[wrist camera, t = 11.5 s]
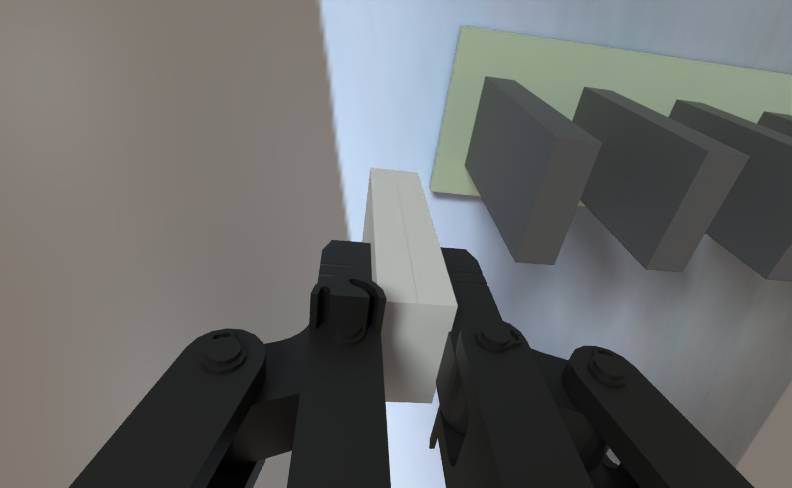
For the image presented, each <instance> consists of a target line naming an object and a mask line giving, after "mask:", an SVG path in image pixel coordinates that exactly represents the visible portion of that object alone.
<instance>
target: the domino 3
mask: <svg viewBox="0 0 792 488" xmlns="http://www.w3.org/2000/svg"><path fill="white" fill-rule="evenodd" d="M669 118H671V119H673V120H675V121H677V122H679V123H681V124H683V125H685V126H688V127H690V128H692V129H694V130H696V131H698V132H700V133H702V134H704V135H706V136H709V137H711V138H713V139H715V140H717V141H719V142H721V143H723V144H725V145H727V146H730V147H732V148H734V149H736V150H738V151H740V152H742V153H744V154H746V155H748V156H750V157H749V159H748V161H747V162H746V164H745V166H744V167H743V169H742V171H741V173H740V174H739V176H738V178H737V179H736V181H735V183H734V184H733V186H732V188H731V190H730V191H729V193H728V195H727V196H726V198H725V200H724V201H723V203H722V205H721V207H720V208H719V210H718V212H717V213H716V215H715V217H714V218H713V220H712V222H711V224H710V225H709V227H708V229H707V230H706V232H705V233H706V234H707V235H709V236H710V237H711V238H712V239H714V240H715V241H716V242H718V243H719V244H720V245H722V246H723V247H724V248H726V249H727V250H728V251H730V252H731V253H732V254H733V255H735V256H736V257H737V258H739V259H740V260H741V261H743V262H744V263H745V264H747V265H748V266H749V267H751V268H752V269H753V270H754V271H756V272H757V273H758V274H760V275H761V276H762V277H764V278H765V279H769V280H781V281H792V137H790V136H787V135H785V134H782V133H780V132H777V131H774V130H772V129H769V128H767V127H764V126H761V125H759V124H756V123H754V122H751V121H748V120H746V119H743V118H741V117H738V116H735V115H733V114H730V113H728V112H725V111H722V110H720V109H717V108H715V107H712V106H709V105H707V104H704V103H700V102H693V101H686V100H678V99H677V100H676V102H675V104H674V106H673V108H672V110H671V113H670V115H669Z"/></svg>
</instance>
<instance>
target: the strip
mask: <svg viewBox="0 0 792 488" xmlns="http://www.w3.org/2000/svg"><path fill="white" fill-rule="evenodd" d="M485 76H488V77H495V78H503V79H510V80H515V81H516V82H518V83H519V84H521V85H522V86H523V87H525V88H526V89H528V90H529V91H530V92H532V93H533V94H535V95H536V96H537V97H539V98H540V99H542V100H543V101H544V102H546V103H547V104H549V105H550V106H551V107H553V108H554V109H556V110H557V111H558V112H560V113H561V114H563V115H564V116H565V117H567V118H568V119H570V120H571V121H572V120H573V117H574V114H575V111H576V108H577V105H578V103H579V100H580V97H581V94H582V91H583V88H584V87H591V88H598V89H605V90H612V91H614V92H616V93H618V94H620V95H622V96H624V97H627V98H629V99H631V100H633V101H635V102H637V103H639V104H641V105H643V106H646V107H648V108H650V109H652V110H654V111H656V112H658V113H660V114H662V115H664V116H667V117H669V115H670V113H671V110H672V108H673V106H674V104H675V102H676V100H677V99H678V100H686V101H693V102H700V103H704V104H707V105H709V106H712V107H715V108H717V109H720V110H722V111H725V112H728V113H730V114H733V115H735V116H738V117H741V118H743V119H746V120H748V121H751V122H754V123H756V124H757V123H758V121H759V119H760V117H761V116H762V114H763V112H764V111H766V112H773V113H780V114H788V115H791V116H792V75H790V74H783V73H776V72H770V71H763V70H756V69H750V68H743V67H736V66H730V65H723V64H717V63H710V62H703V61H697V60H690V59H683V58H677V57H670V56H663V55H657V54H650V53H643V52H637V51H630V50H624V49H617V48H610V47H604V46H597V45H590V44H584V43H577V42H570V41H564V40H557V39H551V38H544V37H537V36H531V35H524V34H517V33H511V32H504V31H497V30H491V29H484V28H478V27H471V26H464V25H460V30H459V35H458V40H457V45H456V50H455V56H454V61H453V66H452V71H451V76H450V82H449V87H448V92H447V97H446V102H445V107H444V113H443V118H442V123H441V128H440V133H439V139H438V144H437V149H436V154H435V159H434V164H433V170H432V175H431V180H430V185H429V188H430V191H432V192H442V193H452V194H462V195H472V196H480V194H479V192H478V190H477V188H476V186H475V184H474V182H473V181H472V179H471V177H470V175H469V173H468V171H467V169H466V167H465V162H466V157H467V153H468V149H469V144H470V140H471V136H472V131H473V127H474V123H475V119H476V114H477V110H478V106H479V101H480V97H481V93H482V88H483V84H484V80H485ZM578 206H582V207H586V206H585V205H584V204H583V203H582V202H581V201H579V203H578Z"/></svg>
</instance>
